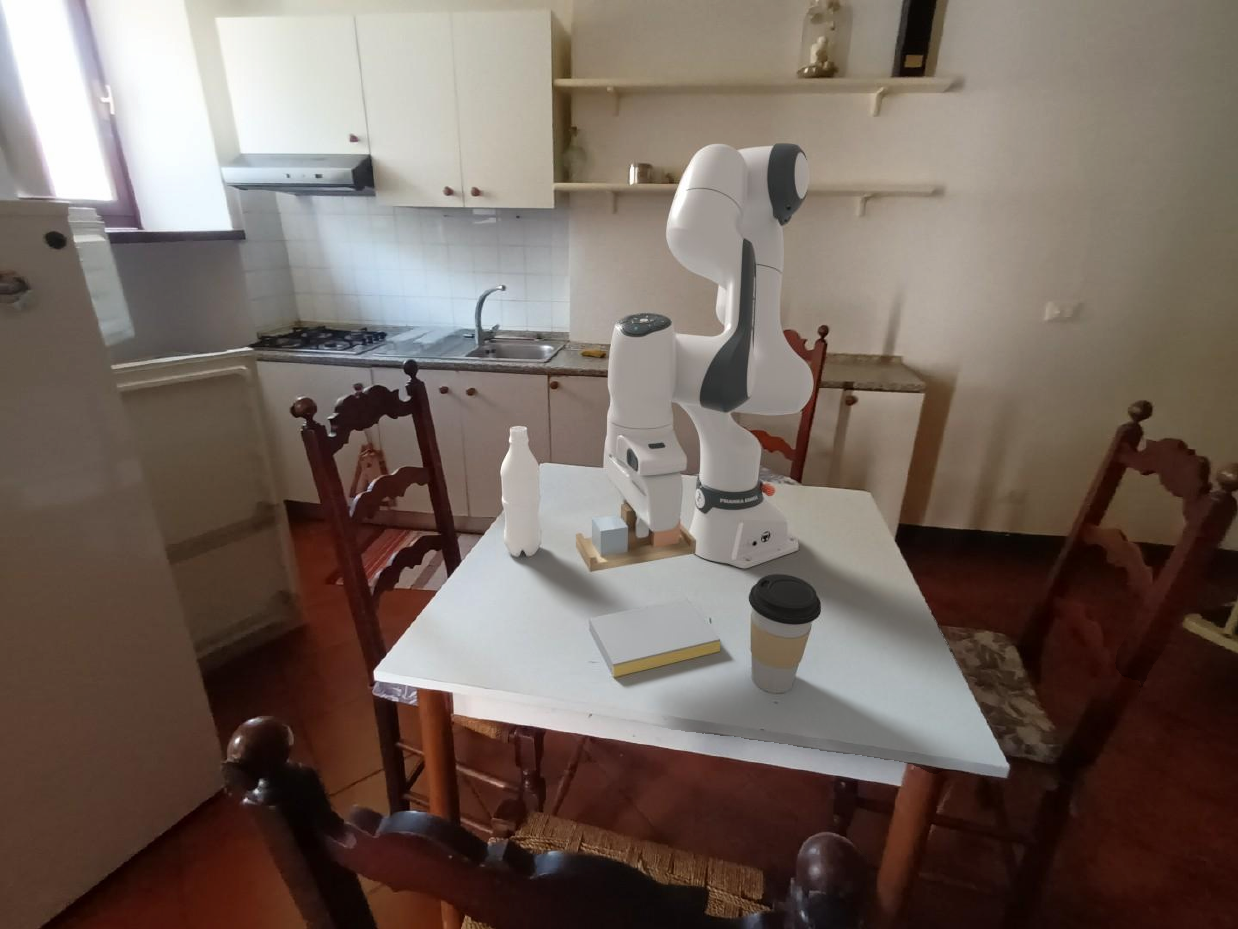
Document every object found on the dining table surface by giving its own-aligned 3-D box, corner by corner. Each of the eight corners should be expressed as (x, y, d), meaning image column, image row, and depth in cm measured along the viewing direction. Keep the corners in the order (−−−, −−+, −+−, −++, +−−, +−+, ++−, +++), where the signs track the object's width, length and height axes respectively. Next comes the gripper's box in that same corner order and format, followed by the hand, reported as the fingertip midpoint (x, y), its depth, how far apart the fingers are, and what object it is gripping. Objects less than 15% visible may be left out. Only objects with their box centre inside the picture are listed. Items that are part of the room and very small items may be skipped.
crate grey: (617, 538, 89) (618, 514, 87) (627, 551, 85) (628, 526, 84) (591, 542, 88) (591, 518, 86) (600, 556, 84) (600, 531, 83)
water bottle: (535, 562, 113) (530, 437, 104) (498, 557, 114) (491, 433, 105) (546, 544, 120) (544, 424, 110) (512, 539, 121) (506, 420, 111)
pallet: (675, 531, 94) (677, 488, 91) (695, 553, 88) (698, 508, 85) (575, 547, 89) (575, 503, 86) (590, 572, 83) (590, 525, 80)
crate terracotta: (667, 530, 91) (669, 506, 90) (678, 543, 88) (680, 518, 86) (643, 534, 90) (644, 510, 89) (653, 547, 87) (654, 522, 85)
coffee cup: (734, 655, 90) (745, 569, 85) (797, 658, 90) (812, 572, 85) (744, 702, 82) (756, 610, 76) (814, 705, 82) (832, 613, 76)
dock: (686, 610, 100) (687, 598, 100) (719, 653, 91) (721, 639, 90) (589, 631, 95) (589, 618, 94) (613, 679, 85) (613, 665, 84)
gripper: (593, 417, 89) (593, 501, 95) (646, 469, 72) (641, 569, 77) (633, 413, 91) (630, 496, 97) (693, 463, 74) (686, 561, 79)
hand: (636, 529), depth 87 cm, fingers closed on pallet, 2 cm apart
